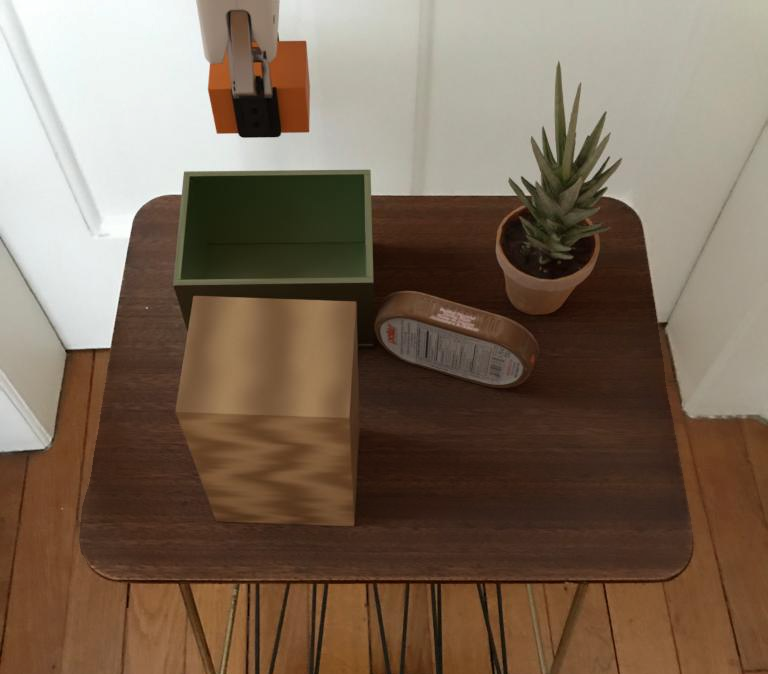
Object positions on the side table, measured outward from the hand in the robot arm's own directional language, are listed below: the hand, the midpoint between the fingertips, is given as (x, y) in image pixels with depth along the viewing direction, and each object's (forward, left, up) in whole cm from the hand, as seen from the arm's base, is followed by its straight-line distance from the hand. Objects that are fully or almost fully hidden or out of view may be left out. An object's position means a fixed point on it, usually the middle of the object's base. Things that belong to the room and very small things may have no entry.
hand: (261, 105), depth 69 cm
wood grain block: (-8, -19, -22) cm, 30 cm away
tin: (+11, -15, -22) cm, 29 cm away
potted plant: (+22, -11, -22) cm, 33 cm away
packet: (0, 0, 0) cm, 0 cm away
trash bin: (0, 0, -22) cm, 22 cm away
